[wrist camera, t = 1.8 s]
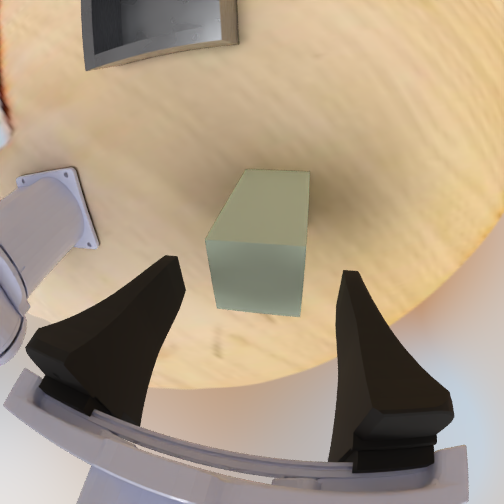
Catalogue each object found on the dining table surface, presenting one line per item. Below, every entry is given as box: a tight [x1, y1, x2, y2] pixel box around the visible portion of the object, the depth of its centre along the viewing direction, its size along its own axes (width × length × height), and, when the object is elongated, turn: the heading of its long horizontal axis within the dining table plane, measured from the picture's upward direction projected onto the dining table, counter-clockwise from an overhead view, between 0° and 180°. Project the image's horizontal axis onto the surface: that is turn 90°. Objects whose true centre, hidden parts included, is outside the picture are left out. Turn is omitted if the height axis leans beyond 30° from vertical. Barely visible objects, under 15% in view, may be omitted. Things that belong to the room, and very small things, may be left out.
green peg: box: [205, 169, 310, 317], centre depth 16 cm, size 4×4×8 cm
